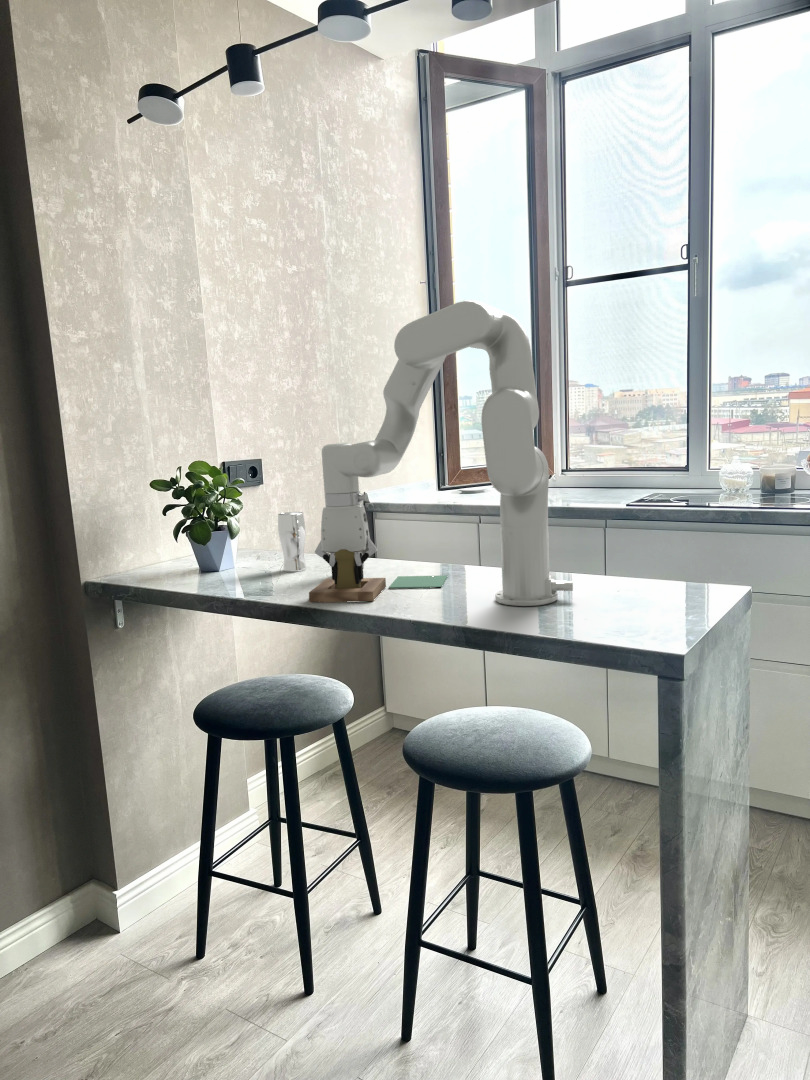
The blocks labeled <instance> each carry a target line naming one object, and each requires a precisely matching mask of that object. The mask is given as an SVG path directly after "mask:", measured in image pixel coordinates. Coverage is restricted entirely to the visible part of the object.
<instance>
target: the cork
mask: <svg viewBox="0 0 810 1080" xmlns="http://www.w3.org/2000/svg"><path fill="white" fill-rule="evenodd" d="M335 559H336V560H337V584H336V589H356V588H361V584H360V583H359V584H356V581H355V573H354V567H355V566H356V564H355V563H356V561H355V557H354V552H351V551H348V550H346V549H341V550H339V551H337V552H336V553H335Z"/></svg>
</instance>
